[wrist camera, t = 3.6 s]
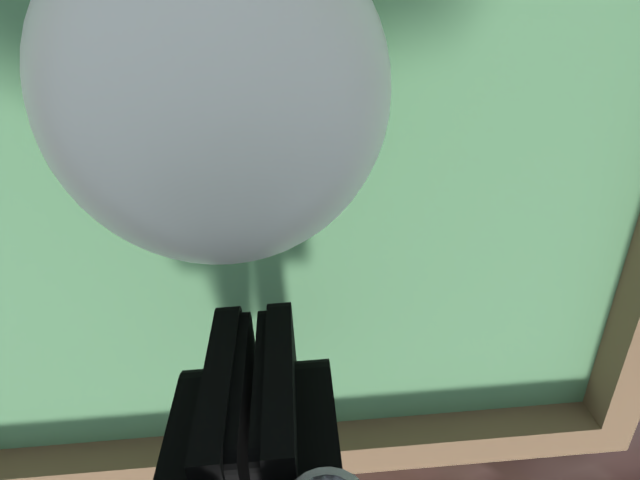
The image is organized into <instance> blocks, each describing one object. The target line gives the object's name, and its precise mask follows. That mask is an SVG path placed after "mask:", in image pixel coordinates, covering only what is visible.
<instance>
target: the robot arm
mask: <svg viewBox="0 0 640 480" xmlns="http://www.w3.org/2000/svg"><path fill="white" fill-rule="evenodd" d="M153 480H359V479H358V478H357V477H356V476H355V475H354V474H352V473H350V472H348V471H346V470H344V469H343V468H342V459H341V451H340V443H339V435H338V426H337V418H336V410H335V401H334V393H333V385H332V376H331V368H330V361H329V359H317V360H305V361H297V360H296V349H295V338H294V327H293V316H292V305H291V302H285V303H272V304H267V307H266V310H265V311H258V312H257V325H256V340H255V337H254V330H253V323H252V316H251V312H242V308H241V306H233V307H220V308H216V309H215V311H214V316H213V321H212V326H211V331H210V337H209V342H208V347H207V352H206V357H205V362H204V367H203V369H194V370H182V372H181V373H180V375H179V378H178V382H177V386H176V390H175V394H174V398H173V401H172V405H171V409H170V413H169V417H168V421H167V425H166V429H165V433H164V437H163V441H162V445H161V449H160V453H159V457H158V461H157V465H156V469H155V473H154V477H153Z"/></svg>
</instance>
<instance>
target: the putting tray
mask: <svg viewBox="0 0 640 480" xmlns="http://www.w3.org/2000/svg"><path fill="white" fill-rule="evenodd" d="M372 1H373V4H374V6H375V8H376V10H377V13H378V15H379V17H380V21H381V24H382V27H383V31H384V34H385V38H386V41H387V47H388V53H389V59H390V65H391V103H390V114H389V120H388V125H387V129H386V134H385V138H384V141H383V144H382V147H381V150H380V152H379V155H378V158H377V160H376V162H375V164H374V166H373V168H372V170H371V172H370V174H369V176H368V178H367V180H366V181H365V183H364V184H363V186H362V187H361V189H360V190H359V192H358V193H357V195H356V196H355V198H354V199H353V200H352V202H351V203H350V204H349V205H348V206H347V207H346V208H345V209H344V211H343V212H342V213H341V214H340V215H339V216H338V217H337V218H336V219H334V220H333V221H332V222H331V223H330V224H329V225H328V226H326V227H325V228H324V229H323V230H321V231H320V232H318V233H317V234H315V235H314V236H312V237H311V238H309V239H308V240H306V241H304V242H302V243H300V244H299V245H297V246H295V247H293V248H291V249H289V250H287V251H284V252H282V253H279V254H276V255H274V256H271V257H268V258H264V259H260V260H256V261H252V262H245V263H238V264H224V265H209V264H198V263H189V262H184V261H180V260H175V259H170V258H167V257H164V256H161V255H158V254H155V253H151V252H149V251H147V250H145V249H142V248H140V247H138V246H135V245H133V244H131V243H129V242H128V241H126V240H124V239H122V238H121V237H119V236H117V235H115V234H114V233H112V232H111V231H109V230H108V229H107V228H105V227H104V226H103V225H101V224H100V223H98V222H97V221H96V220H94V219H93V218H92V217H91V216H90V215H89V214H88V213H87V212H86V211H85V210H83V209H82V208H81V207H80V206H79V205H78V204H77V203H76V202H75V201H74V199H73V198H72V197H71V196H70V195H69V194H68V193H67V192H66V190H65V189H64V188H63V187H62V185H61V184H60V182H59V181H58V180H57V178H56V177H55V175H54V174H53V173H52V171H51V170H50V168H49V166H48V164H47V162H46V161H45V159H44V157H43V155H42V153H41V151H40V150H39V147H38V145H37V142H36V140H35V137H34V135H33V132H32V130H31V127H30V124H29V120H28V116H27V112H26V108H25V105H24V100H23V95H22V88H21V80H20V42H21V36H22V29H23V23H24V19H25V16H26V13H27V9H28V6H29V3H30V0H0V480H153V477H154V473H155V469H156V465H157V461H158V457H159V453H160V449H161V445H162V441H163V437H164V433H165V429H166V425H167V421H168V417H169V413H170V409H171V405H172V401H173V398H174V394H175V390H176V386H177V382H178V378H179V375H180V373H181V372H182V370H194V369H203V367H204V362H205V357H206V352H207V347H208V342H209V337H210V331H211V326H212V321H213V316H214V311H215V309H216V308H220V307H233V306H241V308H242V312H251V316H252V323H253V330H254V337H255V340H256V325H257V312H258V311H265V310H266V307H267V304H272V303H285V302H291V305H292V316H293V327H294V338H295V349H296V360H297V361H305V360H317V359H329V361H330V368H331V376H332V385H333V393H334V401H335V410H336V418H337V426H338V435H339V443H340V451H341V459H342V468H343V469H344V470H346V471H348V472H350V473H352V474H359V473H370V472H382V471H393V470H405V469H417V468H428V467H440V466H451V465H463V464H475V463H486V462H498V461H509V460H521V459H533V458H544V457H556V456H567V455H579V454H591V453H602V452H614V451H625V450H628V447H629V445H630V442H631V439H632V437H633V434H634V432H635V429H636V427H637V424H638V421H639V419H640V0H372Z"/></svg>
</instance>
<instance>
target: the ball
mask: <svg viewBox="0 0 640 480" xmlns="http://www.w3.org/2000/svg"><path fill="white" fill-rule="evenodd" d="M20 80H21V88H22V95H23V100H24V105H25V108H26V112H27V116H28V120H29V124H30V127H31V130H32V132H33V135H34V137H35V140H36V142H37V145H38V147H39V150H40V151H41V153H42V155H43V157H44V159H45V161H46V162H47V164H48V166H49V168H50V170H51V171H52V173H53V174H54V175H55V177H56V178H57V180H58V181H59V182H60V184H61V185H62V187H63V188H64V189H65V190H66V192H67V193H68V194H69V195H70V196H71V197H72V198H73V199H74V201H75V202H76V203H77V204H78V205H79V206H80V207H81V208H82V209H83V210H85V211H86V212H87V213H88V214H89V215H90V216H91V217H92V218H93V219H94V220H96V221H97V222H98V223H100V224H101V225H103V226H104V227H105V228H107V229H108V230H109V231H111V232H112V233H114V234H115V235H117V236H119V237H121V238H122V239H124V240H126V241H128V242H129V243H131V244H133V245H135V246H138V247H140V248H142V249H145V250H147V251H149V252H151V253H155V254H158V255H161V256H164V257H167V258H170V259H175V260H180V261H184V262H189V263H198V264H209V265H224V264H238V263H245V262H252V261H256V260H260V259H264V258H268V257H271V256H274V255H276V254H279V253H282V252H284V251H287V250H289V249H291V248H293V247H295V246H297V245H299V244H300V243H302V242H304V241H306V240H308V239H309V238H311V237H312V236H314V235H315V234H317V233H318V232H320V231H321V230H323V229H324V228H325V227H326V226H328V225H329V224H330V223H331V222H332V221H333V220H334V219H336V218H337V217H338V216H339V215H340V214H341V213H342V212H343V211H344V209H345V208H346V207H347V206H348V205H349V204H350V203H351V202H352V200H353V199H354V198H355V196H356V195H357V193H358V192H359V190H360V189H361V187H362V186H363V184H364V183H365V181H366V180H367V178H368V176H369V174H370V172H371V170H372V168H373V166H374V164H375V162H376V160H377V158H378V155H379V152H380V150H381V147H382V144H383V141H384V138H385V134H386V129H387V125H388V120H389V114H390V103H391V65H390V59H389V53H388V47H387V41H386V38H385V34H384V31H383V27H382V24H381V21H380V17H379V15H378V13H377V10H376V8H375V6H374V4H373V1H372V0H30V3H29V6H28V9H27V13H26V16H25V19H24V23H23V29H22V36H21V42H20Z"/></svg>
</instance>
